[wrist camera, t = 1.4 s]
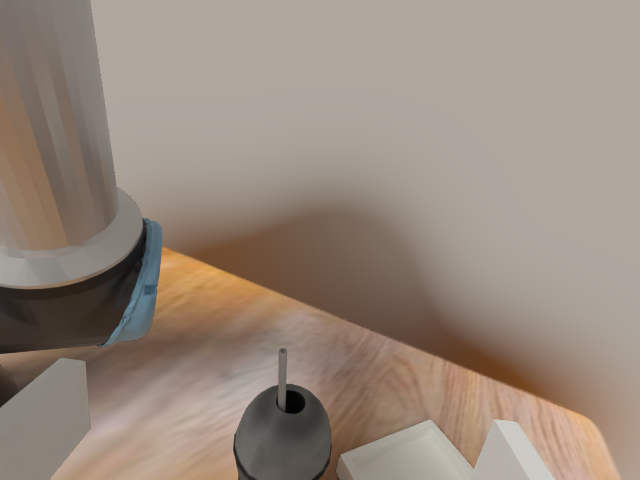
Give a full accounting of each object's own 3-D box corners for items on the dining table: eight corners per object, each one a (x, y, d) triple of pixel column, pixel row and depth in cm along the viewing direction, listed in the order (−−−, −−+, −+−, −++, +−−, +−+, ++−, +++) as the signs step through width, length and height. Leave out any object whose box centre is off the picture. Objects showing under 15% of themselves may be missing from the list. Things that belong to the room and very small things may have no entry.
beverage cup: (317, 574, 27) (374, 386, 20) (224, 604, 24) (251, 401, 17) (296, 481, 33) (333, 314, 26) (220, 498, 30) (238, 317, 23)
